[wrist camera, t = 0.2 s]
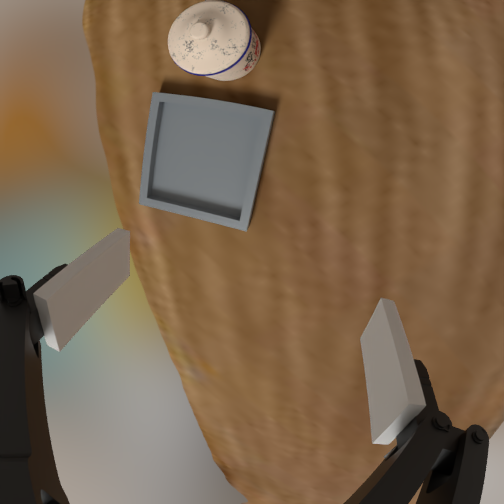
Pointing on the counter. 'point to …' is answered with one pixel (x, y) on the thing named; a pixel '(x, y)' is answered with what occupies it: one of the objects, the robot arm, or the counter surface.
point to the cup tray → (204, 158)
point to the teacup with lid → (214, 41)
